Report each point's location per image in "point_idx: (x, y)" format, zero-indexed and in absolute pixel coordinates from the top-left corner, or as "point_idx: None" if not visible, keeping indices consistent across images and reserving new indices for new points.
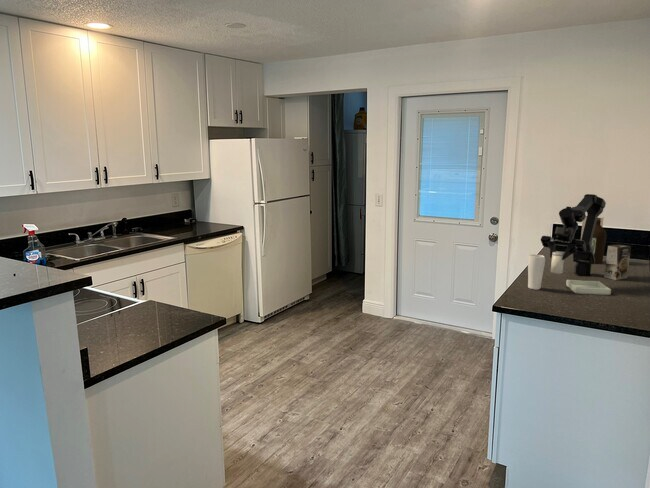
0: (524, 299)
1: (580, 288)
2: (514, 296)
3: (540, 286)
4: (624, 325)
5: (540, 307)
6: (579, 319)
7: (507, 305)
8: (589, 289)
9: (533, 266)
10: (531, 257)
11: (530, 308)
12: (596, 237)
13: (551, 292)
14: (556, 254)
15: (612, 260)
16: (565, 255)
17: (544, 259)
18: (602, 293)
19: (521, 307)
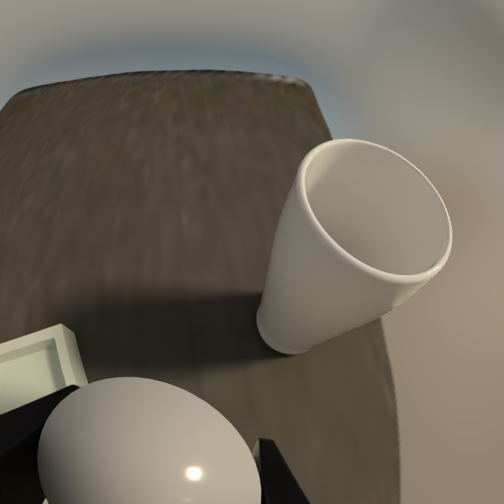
0: (271, 140)
1: (42, 331)
2: None
3: (257, 311)
4: (35, 93)
5: (207, 98)
6: (115, 76)
7: (291, 89)
8: (8, 344)
9: (339, 198)
10: (394, 158)
11: (232, 86)
12: None
13: (189, 288)
14: (160, 382)
15: None
16: (28, 403)
17: (288, 200)
18: None
19: (255, 86)
